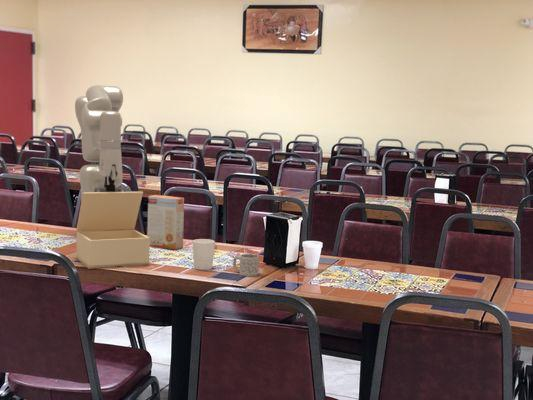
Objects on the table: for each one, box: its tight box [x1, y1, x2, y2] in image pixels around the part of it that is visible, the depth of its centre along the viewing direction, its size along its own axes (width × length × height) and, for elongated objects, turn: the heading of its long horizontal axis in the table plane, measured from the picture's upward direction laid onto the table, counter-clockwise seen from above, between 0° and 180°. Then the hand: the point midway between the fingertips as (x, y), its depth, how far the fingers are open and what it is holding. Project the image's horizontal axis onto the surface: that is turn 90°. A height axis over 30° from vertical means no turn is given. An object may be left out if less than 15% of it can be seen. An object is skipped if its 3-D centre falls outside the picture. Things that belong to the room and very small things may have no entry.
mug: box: [232, 253, 260, 277], centre depth 271 cm, size 10×7×7 cm
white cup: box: [192, 238, 216, 271], centre depth 276 cm, size 8×8×10 cm
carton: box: [75, 229, 151, 270], centre depth 280 cm, size 18×22×10 cm
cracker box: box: [146, 194, 185, 251], centre depth 311 cm, size 14×6×21 cm, turn 63°
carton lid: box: [75, 186, 144, 233], centre depth 284 cm, size 18×22×6 cm
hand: (109, 195), depth 282 cm, fingers closed on carton lid, 2 cm apart
